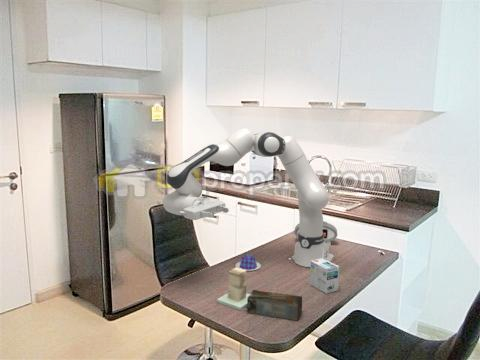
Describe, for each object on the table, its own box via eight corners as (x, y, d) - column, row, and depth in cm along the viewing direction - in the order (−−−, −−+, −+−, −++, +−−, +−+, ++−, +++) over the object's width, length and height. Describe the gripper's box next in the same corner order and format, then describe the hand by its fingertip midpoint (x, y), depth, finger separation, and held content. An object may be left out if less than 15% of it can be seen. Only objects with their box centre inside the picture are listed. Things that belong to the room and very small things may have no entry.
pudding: (263, 263, 194) (263, 253, 193) (258, 273, 182) (258, 262, 181) (239, 261, 197) (239, 250, 196) (232, 270, 185) (232, 259, 184)
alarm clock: (293, 243, 223) (294, 220, 220) (294, 239, 229) (295, 217, 226) (336, 246, 218) (338, 223, 216) (336, 242, 224) (337, 220, 222)
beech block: (235, 293, 159) (235, 267, 157) (246, 297, 156) (246, 270, 154) (228, 298, 155) (228, 271, 153) (238, 302, 152) (239, 274, 150)
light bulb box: (338, 290, 165) (340, 265, 163) (326, 294, 162) (327, 268, 160) (321, 281, 174) (322, 257, 172) (309, 284, 171) (310, 260, 169)
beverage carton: (252, 303, 154) (252, 287, 153) (302, 311, 148) (303, 294, 147) (246, 313, 147) (246, 296, 145) (299, 322, 141) (299, 304, 140)
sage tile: (234, 291, 163) (234, 289, 163) (256, 299, 157) (257, 296, 157) (217, 302, 154) (217, 299, 154) (240, 310, 148) (240, 307, 148)
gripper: (176, 205, 160) (203, 210, 152) (209, 196, 176) (235, 200, 168) (176, 220, 161) (203, 226, 153) (209, 210, 177) (235, 215, 169)
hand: (220, 212), depth 161 cm, fingers open, 8 cm apart
